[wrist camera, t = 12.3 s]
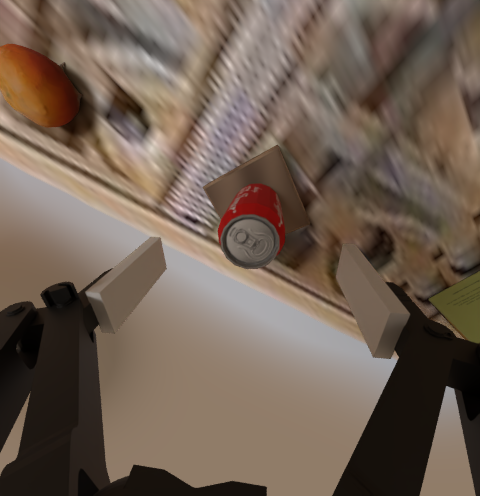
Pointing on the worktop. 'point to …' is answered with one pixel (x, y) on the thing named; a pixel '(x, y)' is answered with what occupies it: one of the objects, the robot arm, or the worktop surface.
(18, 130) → the worktop surface
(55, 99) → the fruit
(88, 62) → the worktop surface
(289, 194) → the walnut plinth
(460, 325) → the protein box
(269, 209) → the soda can
